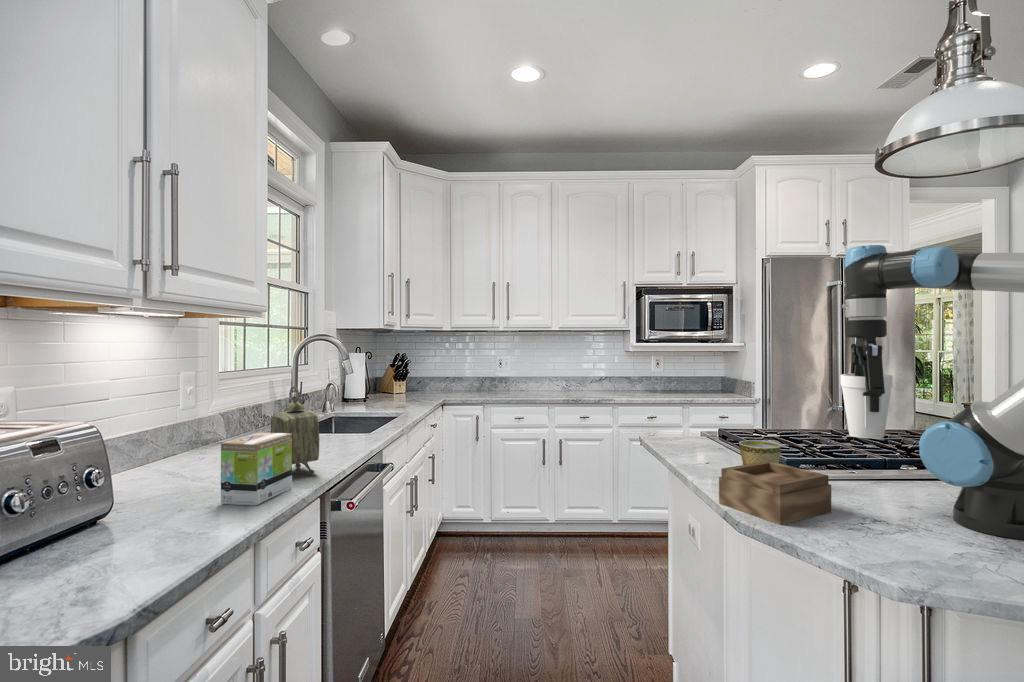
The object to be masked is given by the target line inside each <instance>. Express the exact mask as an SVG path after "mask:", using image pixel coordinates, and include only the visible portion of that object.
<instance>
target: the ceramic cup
mask: <svg viewBox="0 0 1024 682" xmlns="http://www.w3.org/2000/svg"><path fill="white" fill-rule="evenodd" d="M738 445H739V451H740V452H739V453H740V457H741V461H742V465H746V464H752V463H758V462H764V461H771V462H775V463H779V464H780V458H781V452H782V444H780V443H778V442H776V441H769V440H759V439H749V440H748V439H747V440H741V441H739V442H738Z"/></svg>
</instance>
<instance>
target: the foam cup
mask: <svg viewBox="0 0 1024 682" xmlns="http://www.w3.org/2000/svg"><path fill="white" fill-rule="evenodd" d="M839 377H840V384H839V385H840V386H841V389H842V396H843V397H842V398H843V404H844V409H845V417H846V422H847V431H848V434H849V436H851V437H853V438H861V439H871V440H872V439H884V437H885V433H886V426H887V420H888V413H889V407H890V399H891V392H892V388H893V387H894V385H893V381H894V380H893V375H891V374H884V373H883V377H884V390H885V393H884V394H882V396H881V428H866V427H865V396H863V393H864V392H866V386H865V377H860V376H855V374H850V373H843V374H840V375H839Z"/></svg>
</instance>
